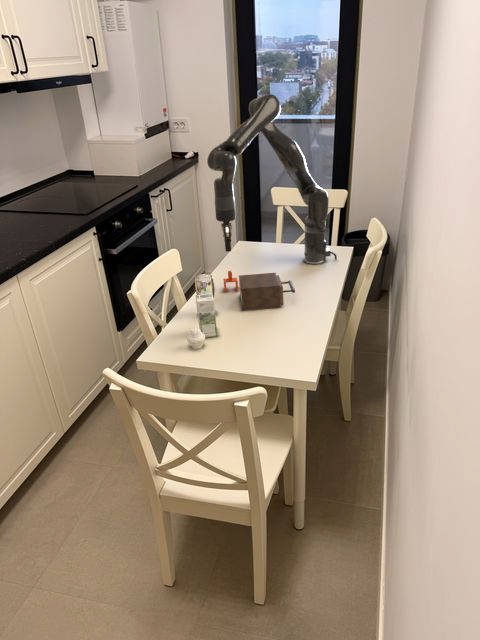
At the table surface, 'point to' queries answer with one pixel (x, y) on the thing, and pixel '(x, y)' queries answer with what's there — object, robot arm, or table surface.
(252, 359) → the table surface
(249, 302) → the cabinet
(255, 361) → the table surface
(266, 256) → the table surface
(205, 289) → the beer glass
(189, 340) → the muffin
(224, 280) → the orange angular part
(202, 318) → the syrup box
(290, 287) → the drawer
